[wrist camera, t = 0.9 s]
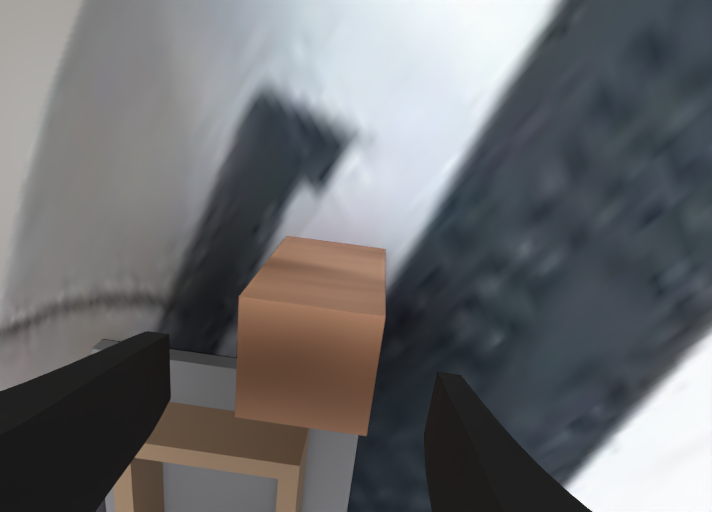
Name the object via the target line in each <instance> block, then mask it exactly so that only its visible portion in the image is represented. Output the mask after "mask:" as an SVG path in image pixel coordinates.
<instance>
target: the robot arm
mask: <svg viewBox="0 0 712 512" xmlns="http://www.w3.org/2000/svg"><path fill="white" fill-rule="evenodd" d="M170 399H171V383H170V347H169V334H162V333H155V332H148V331H147V332H144V333H141V334H138V335H136V336H133V337H131V338H128V339H126V340H124V341H121V342H119V343H117V344H114V345H112V346H110V347H108V348H105V349H103V350H101V351H99V352H96V353H94V354H92V355H90V356H87V357H85V358H83V359H81V360H78V361H76V362H74V363H71V364H69V365H67V366H64V367H62V368H59V369H57V370H54V371H52V372H49V373H47V374H44V375H42V376H40V377H37V378H35V379H32V380H30V381H27V382H25V383H22V384H19V385H17V386H14V387H11V388H8V389H6V390H3V391H0V512H95V511H96V510H97V508H98V507H99V506H100V504H101V503H102V501H103V500H104V499H105V497H106V496H107V495H108V493H109V492H110V491H111V489H112V488H113V486H114V485H115V484H116V482H117V481H118V480H119V478H120V477H121V475H122V474H123V473H124V471H125V470H126V469H127V467H128V466H129V465H130V463H131V462H132V460H133V459H134V458H135V456H136V455H137V453H138V452H139V451H140V449H141V448H142V446H143V445H144V444H145V442H146V441H147V439H148V438H149V437H150V435H151V434H152V432H153V431H154V429H155V427H156V425H157V423H158V422H159V420H160V418H161V416H162V414H163V413H164V411H165V409H166V407H167V405H168V403H169V401H170ZM424 447H425V468H426V477H427V484H428V490H429V496H430V502H431V508H432V512H592V511H591V510H589V509H588V508H587V507H586V506H584V505H583V504H582V503H581V502H580V501H578V500H577V499H576V498H575V497H574V496H572V495H571V494H570V493H569V492H568V491H567V490H566V489H564V488H563V487H562V486H561V485H560V484H559V483H558V482H557V481H556V480H555V479H553V478H552V477H551V476H550V475H549V474H548V473H547V472H546V471H545V470H544V469H543V468H542V467H540V466H539V465H538V464H537V463H536V462H535V461H534V460H533V459H532V458H531V457H530V456H529V454H528V453H527V452H526V451H525V450H524V449H523V448H522V447H521V446H520V445H519V444H518V443H517V442H516V441H515V440H514V439H513V438H512V436H511V435H510V434H509V433H508V432H507V431H506V430H505V429H504V428H503V426H502V425H501V424H500V423H499V422H498V421H497V419H496V418H495V417H494V416H493V415H492V413H491V412H490V411H489V410H488V409H487V407H486V406H485V405H484V404H483V402H482V401H481V400H480V399H479V398H478V396H477V395H476V394H475V392H474V391H473V390H472V389H471V387H470V386H469V385H468V384H467V382H466V381H465V380H464V379H463V378H462V376H461V375H456V374H449V373H441V372H437V376H436V381H435V386H434V390H433V395H432V400H431V404H430V409H429V414H428V418H427V423H426V428H425V432H424Z"/></svg>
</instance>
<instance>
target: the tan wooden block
mask: <svg viewBox="0 0 712 512" xmlns="http://www.w3.org/2000/svg"><path fill="white" fill-rule="evenodd" d="M385 317H386V291H385V249H381V248H373V247H366V246H358V245H351V244H343V243H336V242H329V241H321V240H314V239H306V238H299V237H291V236H286V238H285V239H284V240H283V241H282V243H281V244H280V245H279V246H278V248H277V249H276V250H275V252H274V253H273V254H272V255H271V257H270V258H269V259H268V260H267V262H266V263H265V264H264V265H263V267H262V268H261V269H260V270H259V272H258V273H257V274H256V275H255V277H254V278H253V279H252V281H251V282H250V283H249V284H248V286H247V287H246V288H245V289H244V291H243V292H242V293H241V294H240V296H239V307H238V337H237V367H236V396H235V417H237V418H244V419H251V420H258V421H265V422H272V423H278V424H285V425H292V426H299V427H306V428H313V429H320V430H327V431H334V432H341V433H348V434H355V435H362V436H367V431H368V424H369V418H370V412H371V405H372V399H373V393H374V386H375V380H376V374H377V368H378V361H379V355H380V349H381V342H382V336H383V330H384V323H385Z"/></svg>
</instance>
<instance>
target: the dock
mask: <svg viewBox="0 0 712 512" xmlns="http://www.w3.org/2000/svg"><path fill="white" fill-rule="evenodd" d="M117 343H119V342H117V341H110V340H102V341H100V342H99V343H98V344H97V345H95V346H94V347H93V348H92V349H91V350H92V354H94V353H96V352H99V351H101V350H103V349H105V348H108V347H110V346H112V345H114V344H117ZM236 367H237V358H230V357H223V356H216V355H209V354H202V353H195V352H188V351H181V350H174V349H170V383H171V399H170V401H169V403H168V405H167V407H166V409H165V411H164V413H163V414H162V416H161V418H160V420H159V422H158V423H157V425H156V427H155V429H154V431H153V432H152V434H151V435H150V437H149V438H148V439H147V441H146V442H145V444H144V445H143V446H142V448H141V449H140V451H139V452H138V453H137V455H136V456H135V458H134V459H133V460H132V462H131V463H130V465H129V466H128V467H127V469H126V470H125V471H124V473H123V474H122V475H121V477H120V478H119V480H118V481H117V482H116V484H115V485H114V486H113V488H112V489H111V491H110V492H109V493H108V495H107V496H106V497H105V501H106V511H107V512H347V507H348V501H349V494H350V488H351V481H352V474H353V468H354V461H355V454H356V448H357V441H358V435H355V434H348V433H341V432H334V431H327V430H320V429H313V428H306V427H299V426H292V425H285V424H278V423H272V422H265V421H258V420H251V419H244V418H237V417H235V396H236Z"/></svg>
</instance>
